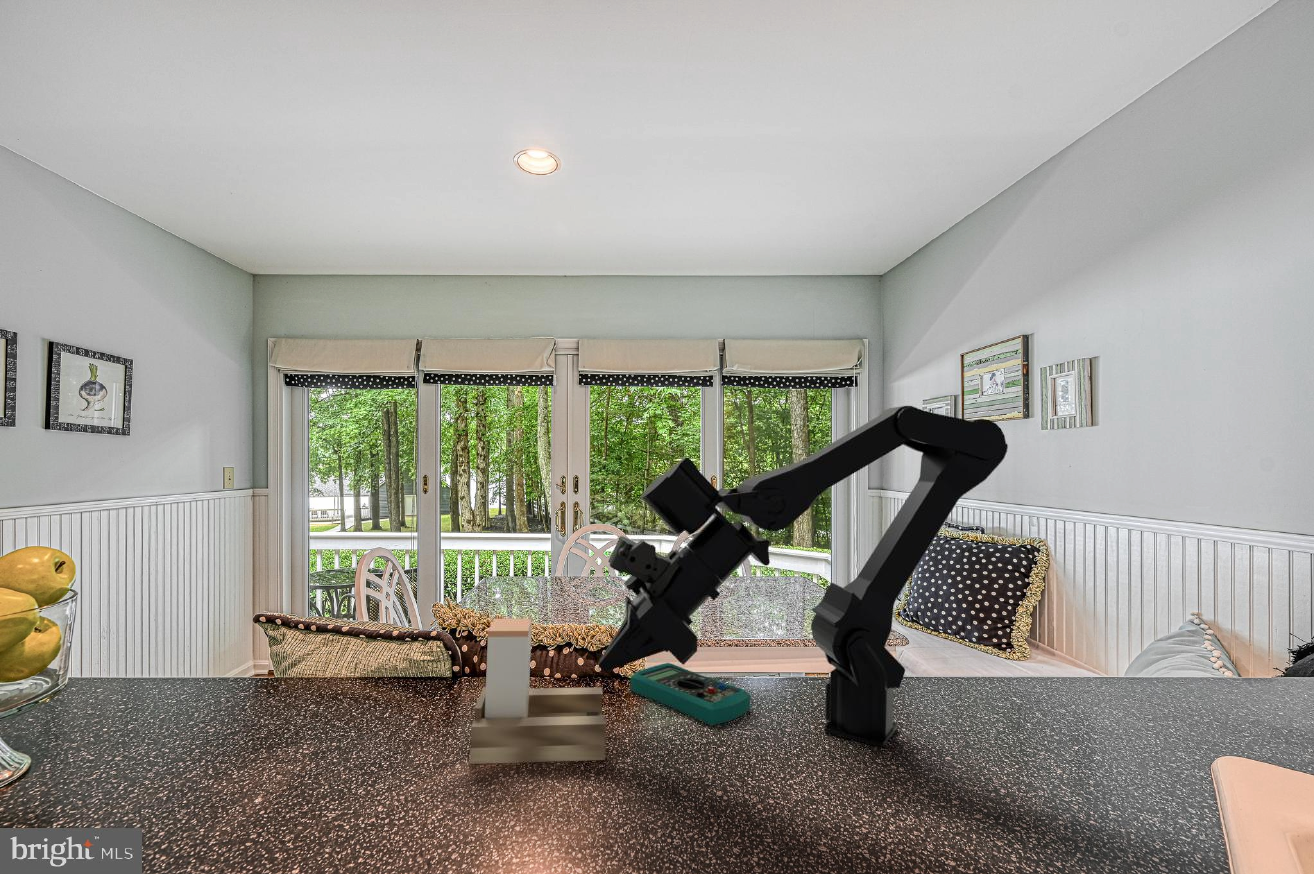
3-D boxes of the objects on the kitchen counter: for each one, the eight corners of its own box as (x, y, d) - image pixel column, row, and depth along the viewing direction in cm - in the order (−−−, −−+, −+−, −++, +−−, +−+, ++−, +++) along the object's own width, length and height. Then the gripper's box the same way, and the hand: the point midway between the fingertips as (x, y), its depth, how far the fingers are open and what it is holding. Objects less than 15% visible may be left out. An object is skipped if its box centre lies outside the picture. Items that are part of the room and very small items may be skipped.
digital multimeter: (715, 732, 71) (716, 705, 71) (627, 693, 81) (628, 670, 81) (755, 715, 76) (755, 690, 76) (667, 681, 87) (668, 659, 87)
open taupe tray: (600, 718, 72) (602, 678, 72) (604, 759, 62) (606, 713, 62) (484, 720, 71) (486, 680, 71) (469, 764, 61) (471, 716, 61)
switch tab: (528, 712, 69) (531, 618, 69) (524, 732, 64) (528, 630, 64) (490, 713, 68) (494, 618, 69) (484, 733, 63) (488, 631, 64)
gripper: (644, 505, 78) (551, 596, 76) (665, 520, 60) (544, 640, 58) (705, 569, 79) (615, 660, 77) (745, 603, 60) (628, 724, 58)
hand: (601, 668), depth 67 cm, fingers closed
